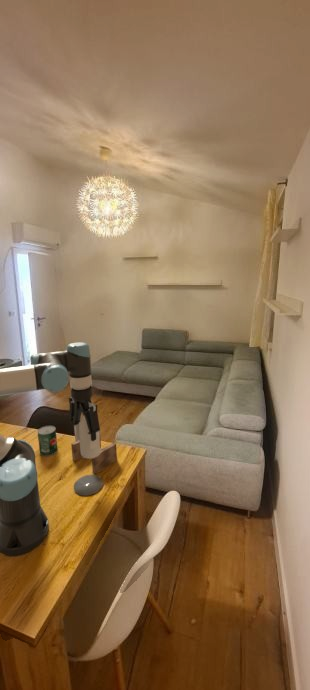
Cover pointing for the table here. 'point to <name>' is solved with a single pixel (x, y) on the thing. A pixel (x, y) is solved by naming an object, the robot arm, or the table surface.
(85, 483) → the coaster
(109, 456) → the bookends
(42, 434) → the canned tomato
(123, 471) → the table surface
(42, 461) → the table surface
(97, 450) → the milk bottle
